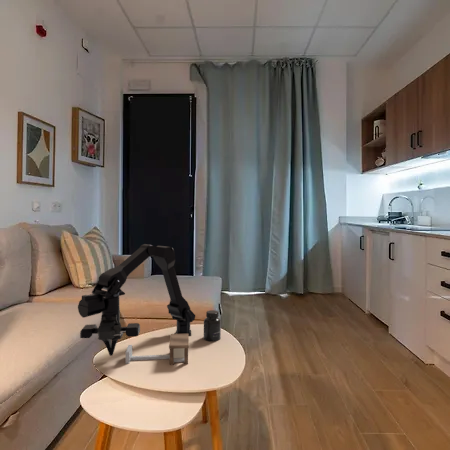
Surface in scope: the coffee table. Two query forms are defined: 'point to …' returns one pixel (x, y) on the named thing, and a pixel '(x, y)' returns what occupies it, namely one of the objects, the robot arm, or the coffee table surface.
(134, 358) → the grey flanged bar
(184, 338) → the walnut tunnel
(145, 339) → the coffee table surface
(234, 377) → the coffee table surface
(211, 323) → the supplement bottle
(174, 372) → the coffee table surface
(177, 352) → the cream block
